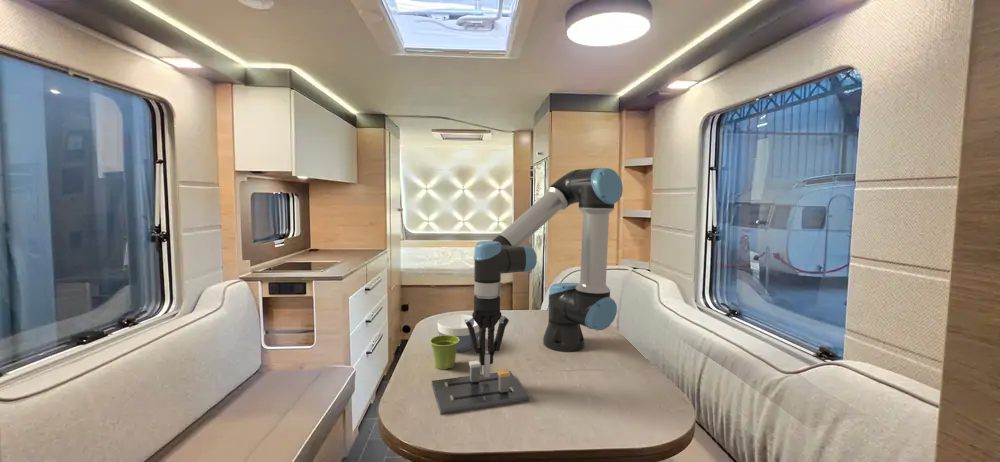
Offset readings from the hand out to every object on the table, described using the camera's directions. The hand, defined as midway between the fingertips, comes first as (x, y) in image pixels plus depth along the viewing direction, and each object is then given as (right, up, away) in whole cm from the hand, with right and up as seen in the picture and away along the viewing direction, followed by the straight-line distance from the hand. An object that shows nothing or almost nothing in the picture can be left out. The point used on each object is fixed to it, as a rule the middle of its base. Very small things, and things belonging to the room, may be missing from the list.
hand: (486, 374), depth 117 cm
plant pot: (-14, -2, +13) cm, 19 cm away
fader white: (-3, -1, -1) cm, 4 cm away
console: (-2, -4, -4) cm, 6 cm away
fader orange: (+5, -2, -7) cm, 8 cm away
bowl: (-11, -1, +30) cm, 32 cm away
